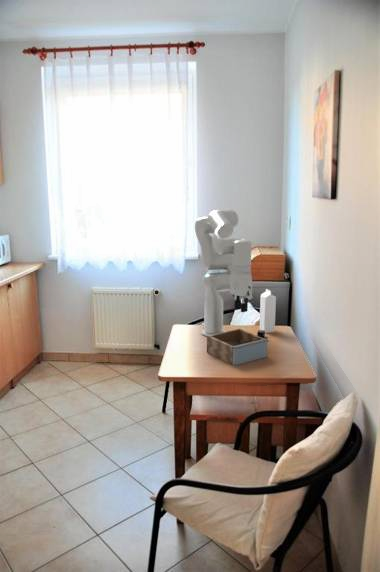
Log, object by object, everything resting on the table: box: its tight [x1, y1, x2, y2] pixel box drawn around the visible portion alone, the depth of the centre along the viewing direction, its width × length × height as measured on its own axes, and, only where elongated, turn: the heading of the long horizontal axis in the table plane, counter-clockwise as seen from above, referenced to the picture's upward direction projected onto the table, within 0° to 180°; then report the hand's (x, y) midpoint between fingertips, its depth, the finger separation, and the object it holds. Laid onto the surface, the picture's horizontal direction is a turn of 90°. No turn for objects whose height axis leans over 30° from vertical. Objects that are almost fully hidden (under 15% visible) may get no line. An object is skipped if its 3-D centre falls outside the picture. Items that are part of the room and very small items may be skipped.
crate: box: [206, 328, 264, 365], centre depth 207 cm, size 18×19×8 cm
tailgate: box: [232, 338, 269, 366], centre depth 199 cm, size 1×19×8 cm, turn 124°
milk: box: [259, 288, 277, 334], centre depth 240 cm, size 6×6×22 cm
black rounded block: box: [256, 329, 269, 339], centre depth 229 cm, size 12×7×5 cm, turn 159°
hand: (240, 310), depth 201 cm, fingers open, 3 cm apart
